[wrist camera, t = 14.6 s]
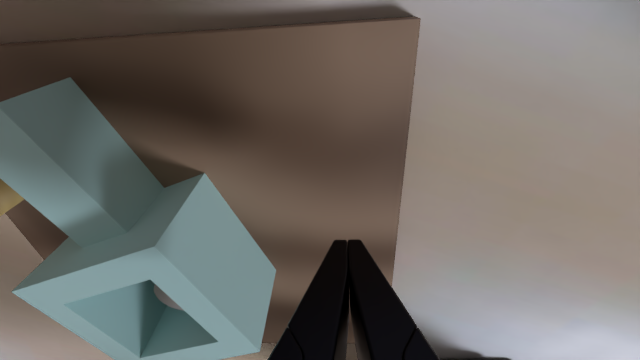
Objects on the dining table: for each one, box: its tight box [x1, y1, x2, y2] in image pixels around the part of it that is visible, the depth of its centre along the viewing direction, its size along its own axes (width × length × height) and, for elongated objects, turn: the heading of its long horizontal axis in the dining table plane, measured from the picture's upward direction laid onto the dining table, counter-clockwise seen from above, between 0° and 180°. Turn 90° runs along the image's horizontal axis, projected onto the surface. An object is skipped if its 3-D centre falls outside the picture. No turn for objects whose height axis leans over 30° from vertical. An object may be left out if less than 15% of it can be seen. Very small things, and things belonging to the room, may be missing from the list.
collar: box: [0, 77, 276, 360], centre depth 13 cm, size 12×7×4 cm, turn 23°
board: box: [0, 16, 420, 343], centre depth 15 cm, size 20×20×4 cm
